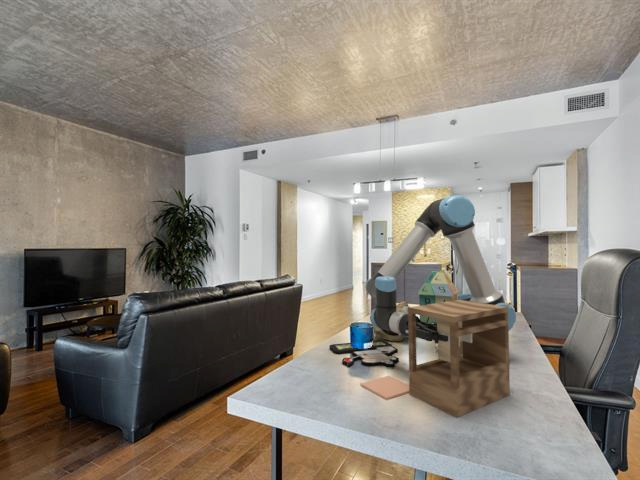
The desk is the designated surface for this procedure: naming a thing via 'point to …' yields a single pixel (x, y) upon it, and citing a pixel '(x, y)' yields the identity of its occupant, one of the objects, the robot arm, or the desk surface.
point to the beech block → (445, 347)
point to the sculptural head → (388, 334)
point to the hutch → (478, 357)
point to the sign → (368, 354)
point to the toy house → (436, 291)
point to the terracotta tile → (386, 387)
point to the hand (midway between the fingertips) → (465, 339)
